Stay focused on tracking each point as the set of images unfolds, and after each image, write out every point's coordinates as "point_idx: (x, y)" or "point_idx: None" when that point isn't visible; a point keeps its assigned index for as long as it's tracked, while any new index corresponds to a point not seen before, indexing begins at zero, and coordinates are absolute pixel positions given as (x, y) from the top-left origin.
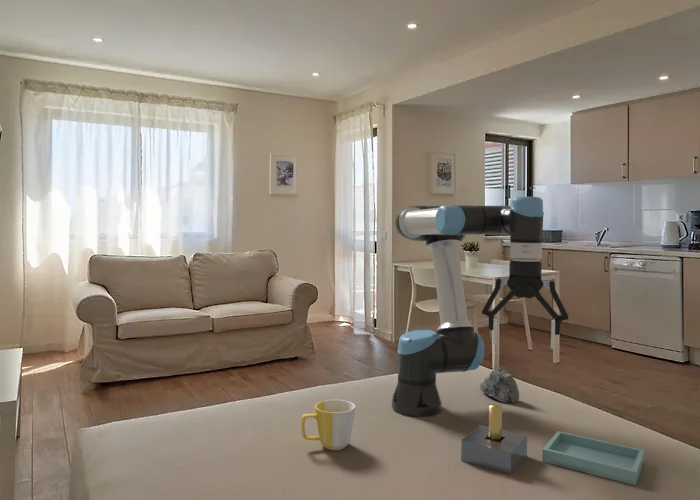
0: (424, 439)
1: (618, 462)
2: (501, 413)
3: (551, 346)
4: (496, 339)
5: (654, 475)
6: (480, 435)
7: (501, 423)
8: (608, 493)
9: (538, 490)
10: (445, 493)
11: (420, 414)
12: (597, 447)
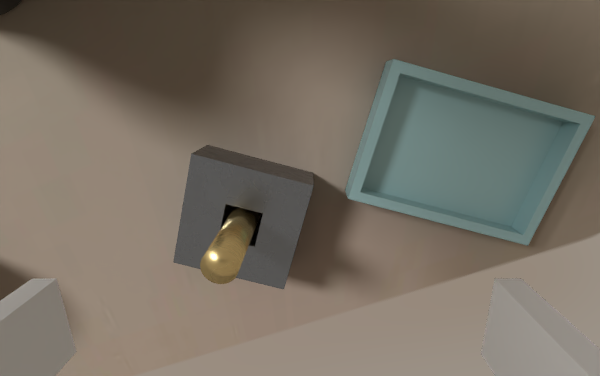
0: (85, 165)
1: (508, 156)
2: (242, 259)
3: (493, 370)
4: (45, 348)
5: (566, 175)
6: (206, 222)
7: (248, 243)
8: (451, 276)
9: (335, 303)
10: (197, 354)
11: (2, 10)
12: (480, 97)
